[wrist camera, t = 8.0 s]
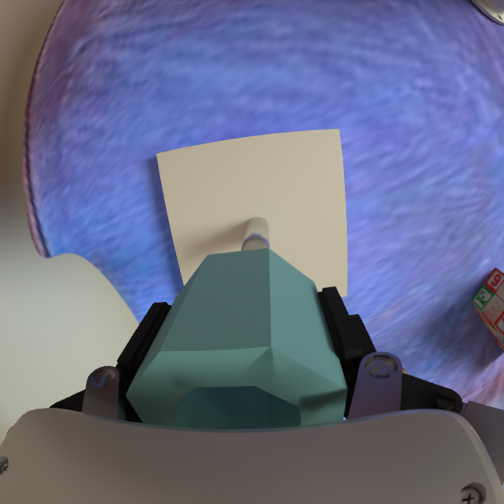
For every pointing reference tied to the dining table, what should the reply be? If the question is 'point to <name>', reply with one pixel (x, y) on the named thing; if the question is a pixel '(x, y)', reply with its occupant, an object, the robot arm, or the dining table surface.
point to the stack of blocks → (492, 304)
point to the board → (261, 201)
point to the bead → (242, 351)
